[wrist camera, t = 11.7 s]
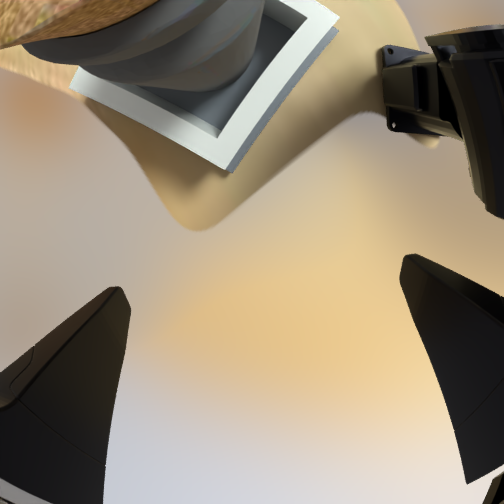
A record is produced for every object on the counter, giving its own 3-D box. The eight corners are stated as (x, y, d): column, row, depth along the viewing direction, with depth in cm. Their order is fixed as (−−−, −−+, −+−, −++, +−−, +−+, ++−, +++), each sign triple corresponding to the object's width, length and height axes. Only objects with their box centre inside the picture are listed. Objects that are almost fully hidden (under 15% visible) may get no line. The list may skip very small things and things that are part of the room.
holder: (334, 33, 13) (360, 18, 9) (232, 169, 18) (229, 190, 14) (183, -42, 10) (168, -71, 6) (90, 93, 15) (54, 96, 11)
